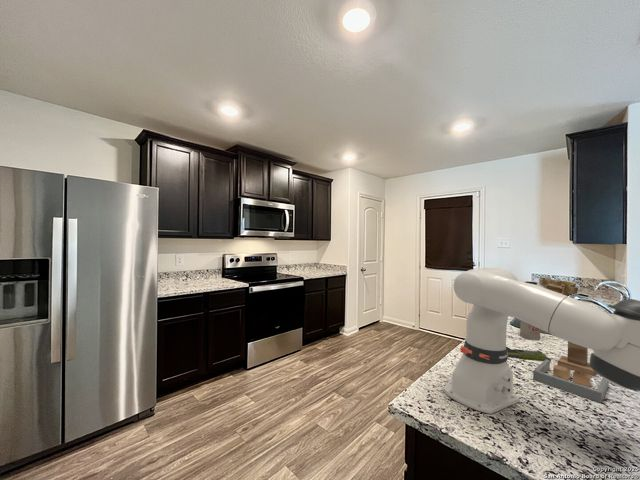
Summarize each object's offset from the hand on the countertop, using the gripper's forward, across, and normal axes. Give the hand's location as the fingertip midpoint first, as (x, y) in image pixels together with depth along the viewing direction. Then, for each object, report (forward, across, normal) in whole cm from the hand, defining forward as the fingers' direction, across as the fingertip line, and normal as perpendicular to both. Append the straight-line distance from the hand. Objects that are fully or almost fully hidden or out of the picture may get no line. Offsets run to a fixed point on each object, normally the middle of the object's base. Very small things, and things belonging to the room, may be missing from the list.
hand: (629, 356), depth 91 cm
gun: (+32, -3, -10) cm, 33 cm away
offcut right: (+10, -14, -9) cm, 19 cm away
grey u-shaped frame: (+12, -17, -9) cm, 23 cm away
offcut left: (+15, -14, -9) cm, 22 cm away
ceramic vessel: (+43, +136, -9) cm, 143 cm away
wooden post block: (+13, 0, -9) cm, 16 cm away
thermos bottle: (+34, +25, -9) cm, 43 cm away
